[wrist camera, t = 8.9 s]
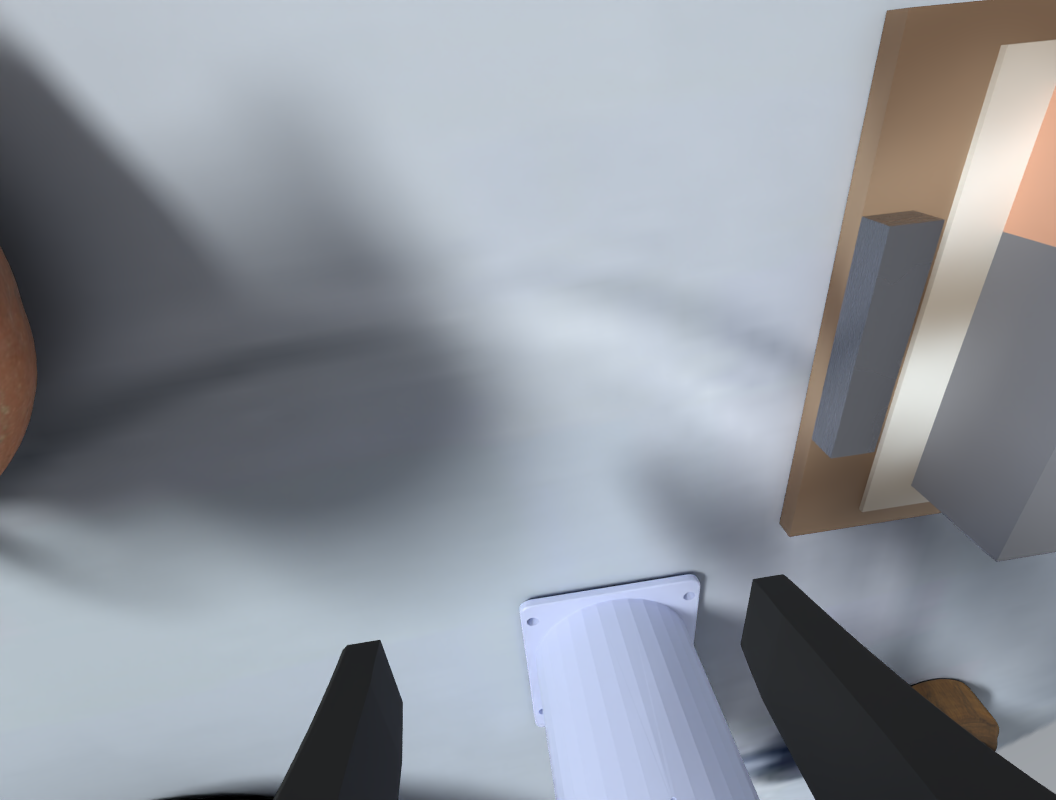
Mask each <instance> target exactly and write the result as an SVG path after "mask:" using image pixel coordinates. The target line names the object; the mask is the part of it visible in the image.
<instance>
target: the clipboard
mask: <svg viewBox="0 0 1056 800" xmlns="http://www.w3.org/2000/svg"><path fill="white" fill-rule="evenodd" d="M1055 86H1056V0H984V1H973V2H963V3H953V4H942V5H932V6H922V7H912V8H904V9H896V10H889V11H887V13H886V18H885V23H884V27H883V32H882V37H881V42H880V46H879V51H878V56H877V61H876V66H875V70H874V75H873V80H872V85H871V89H870V94H869V99H868V104H867V108H866V113H865V118H864V123H863V128H862V132H861V137H860V142H859V147H858V151H857V156H856V161H855V166H854V170H853V175H852V180H851V185H850V189H849V194H848V199H847V204H846V209H845V213H844V218H843V223H842V228H841V232H840V237H839V242H838V247H837V251H836V256H835V261H834V266H833V271H832V275H831V280H830V285H829V290H828V294H827V299H826V304H825V309H824V313H823V318H822V323H821V328H820V333H819V337H818V342H817V347H816V352H815V356H814V361H813V366H812V371H811V375H810V380H809V385H808V390H807V394H806V399H805V404H804V409H803V414H802V418H801V423H800V428H799V433H798V437H797V442H796V447H795V452H794V456H793V461H792V466H791V471H790V476H789V480H788V485H787V490H786V495H785V499H784V504H783V509H782V514H781V518H780V525H781V526H782V528H783V529H784V530H785V532H786V533H787V534H788V536H789V537H792V536H798V535H804V534H811V533H817V532H823V531H830V530H836V529H842V528H848V527H855V526H861V525H867V524H874V523H880V522H886V521H893V520H899V519H905V518H912V517H918V516H924V515H931V514H937V513H941V512H940V511H939V510H938V509H937V508H936V507H935V506H934V505H933V504H931V503H930V502H929V501H928V500H927V499H926V498H925V497H924V496H922V495H921V494H920V493H919V492H918V491H917V490H916V489H915V488H914V487H912V486H911V484H912V481H913V479H914V476H915V473H916V470H917V468H918V465H919V462H920V459H921V456H922V454H923V451H924V448H925V445H926V443H927V440H928V437H929V434H930V432H931V429H932V426H933V423H934V421H935V418H936V415H937V412H938V409H939V407H940V404H941V401H942V398H943V396H944V393H945V390H946V387H947V385H948V382H949V379H950V376H951V373H952V371H953V368H954V365H955V362H956V360H957V357H958V354H959V351H960V349H961V346H962V343H963V340H964V338H965V335H966V332H967V329H968V326H969V324H970V321H971V318H972V315H973V313H974V310H975V307H976V304H977V302H978V299H979V296H980V293H981V290H982V288H983V285H984V282H985V279H986V277H987V274H988V271H989V268H990V266H991V263H992V260H993V257H994V255H995V252H996V249H997V246H998V243H999V241H1000V238H1001V235H1002V232H1003V230H1004V227H1005V224H1006V221H1007V219H1008V216H1009V213H1010V210H1011V207H1012V205H1013V202H1014V199H1015V196H1016V194H1017V191H1018V188H1019V185H1020V183H1021V180H1022V177H1023V174H1024V172H1025V169H1026V166H1027V163H1028V160H1029V158H1030V155H1031V152H1032V149H1033V147H1034V144H1035V141H1036V138H1037V136H1038V133H1039V130H1040V127H1041V124H1042V122H1043V119H1044V116H1045V113H1046V111H1047V108H1048V105H1049V102H1050V100H1051V97H1052V94H1053V91H1054V89H1055Z"/></svg>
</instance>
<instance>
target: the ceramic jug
mask: <svg viewBox="0 0 1056 800" xmlns="http://www.w3.org/2000/svg"><path fill="white" fill-rule="evenodd" d="M36 362H37V360H36V352H35V345H34V339H33V335H32V331H31V328H30V324H29V321H28V318H27V315H26V313H25V310H24V307H23V304H22V300H21V297H20V294H19V290H18V286H17V283H16V280H15V278H14V275H13V273H12V270H11V267H10V265H9V263H8V261H7V259H6V257H5V255H4V253H3V250H2V248H1V247H0V476H1V474H2V473H3V471H4V470H5V469H6V468H7V466H8V464H9V463H10V461H11V460H12V458H13V456H14V454H15V453H16V451H17V449H18V448H19V446H20V444H21V442H22V439H23V437H24V435H25V432H26V429H27V426H28V424H29V421H30V417H31V414H32V409H33V404H34V398H35V394H36V387H37V365H36Z"/></svg>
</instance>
